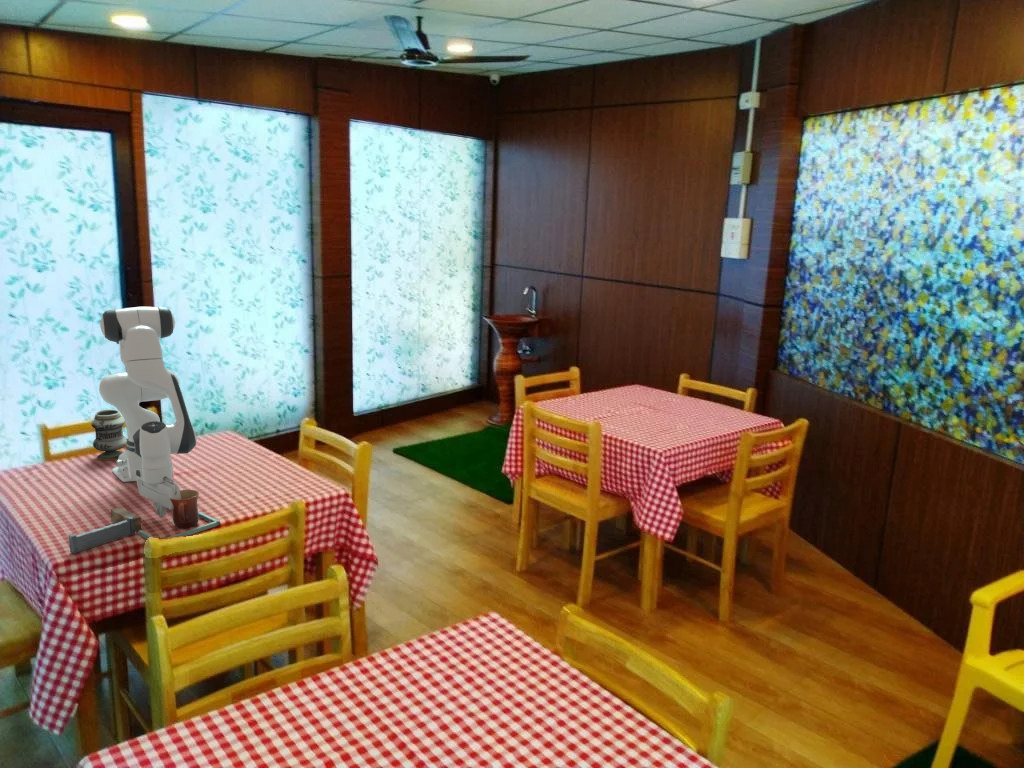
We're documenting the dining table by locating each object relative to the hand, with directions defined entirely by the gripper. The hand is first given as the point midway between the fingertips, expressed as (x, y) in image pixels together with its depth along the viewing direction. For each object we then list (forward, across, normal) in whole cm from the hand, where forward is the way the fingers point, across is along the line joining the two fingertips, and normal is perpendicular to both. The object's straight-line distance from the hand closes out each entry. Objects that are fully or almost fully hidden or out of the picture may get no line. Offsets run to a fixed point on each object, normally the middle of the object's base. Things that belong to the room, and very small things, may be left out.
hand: (161, 514), depth 250 cm
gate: (+2, -4, +20) cm, 20 cm away
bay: (+2, -12, 0) cm, 12 cm away
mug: (+2, -11, -2) cm, 12 cm away
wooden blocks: (+2, +4, 0) cm, 4 cm away
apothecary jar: (+3, +74, -20) cm, 76 cm away
